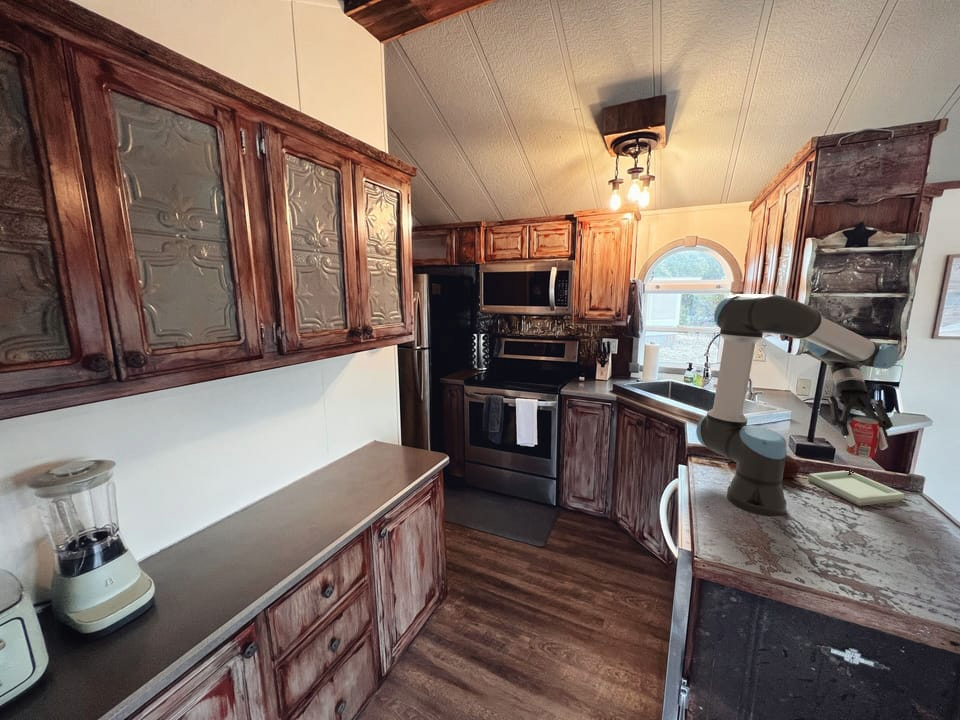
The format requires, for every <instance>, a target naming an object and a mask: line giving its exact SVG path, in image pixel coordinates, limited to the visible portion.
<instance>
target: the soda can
mask: <svg viewBox="0 0 960 720" xmlns="http://www.w3.org/2000/svg"><path fill="white" fill-rule="evenodd" d="M878 423H879V422H878V421H877V420H874V419H870V418H867V417H866V416H865V417H863V416H855V417H853V418H852V419H851V421H850V422H849V425H851V428H852V432H853V436H854V439H855V443H856V444H855V445H853V446H852V447H849V446H848V442H847V440H846V443H845V451H846V452H847V453H848V454H849V455H851V456H854V457H855V458H856V457H857V458H861V459H871V458H874V457H875V456H876V453H877V450H878V446H879V444H878V440H879V434H880V426H879V424H878Z"/></svg>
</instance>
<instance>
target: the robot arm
mask: <svg viewBox="0 0 960 720" xmlns="http://www.w3.org/2000/svg"><path fill="white" fill-rule="evenodd" d="M713 318H714V319H713V320H714V322H715V324H716V326H717V327H718V328H720V331H719V335H720V337H722V338H723V344H722V345H723V346H722V351H721V357H720V363H719V364H720V365H719V370H718V375H717V376H718V377H717V382H716V388H715V394H714V400H713V406H712V408H711V409H709V410H707V412H706V415H704V416H702V417H701V418H700V420H699V421H698V422H697V426H696V431H695V432H696V437H697V440H698V441H699V443H700V445H702V446H703V447H705V448H707V450H710V451H711V452H714V453H716V454H718V455H721V456H722V457H725V458H726V459H728V460H730V461H733V462H734V463H736V466H735V468H736V469H735V475H734V476H733V478H732V480H731V482H730V484H729V485H728V487H727V490H726V497H727V499H728V501H729V502H730V503H732V504H733V505H734V506H737V507H738V508H740V509H742V510H744V511H748V512H750V513H753V514H757V515H762V516H771V517H773V516H774V517H775V516H781V515H783V514H785V513H786V510H787V500H786V497H785V493H784V490H783V486H782V485H783V484H782V483H783V478H784V477H783V471H784V464H785V457H786V455H788V454H787V441H786V439H785V437H784V436H783V435H782V434H781V433H778V431H777V432H776V431H775V430H773V429H770V428H767V427H762V426H760V425H759V426H758V425H750V424H749V425H747V424H748V418H747V417H746V415H744V410H745V404H746V399H747V392H748V387H749V381H750V375H751V370H752V364H753V359H754V354H755V353H754V352H755V347H756V343H757V342H758V341H760V340H761V339H763V334H773V335H774V334H775V335H781V336H787V337H790V338H792V339H796V340H802V339H803V340H805V341H807V343H806V348H807V350H808V351H809V352H810V353H811V354H812V355H813V356H814V357H817V358H818V359H820V360H821V361H822V362H824V363H825V364H826V365H827V366H828V367H829V370H830V372H831V375H832V379H833V383H834V385H835V390H836V395H837V396H834V395H831V396H830V397H829V398H827V402H828V404H829V406H830V416H831V420H830V421H831V425H833V426H837V427H838V429H840V431H841V435H842V436H844V437H845V439H846V441H847V442H848V446H849V447H852V446H853V445H855V444H856V443H855V439H854V436H853V432H852V428H851V425H850V424H848V422H849V417H850V416H851V415H850V414H851V411H852V410H859V411H860V412H861V413H862V414H864V415H865V417H866V418H870V419H874V420H877V421H878V422H879V423H878V424H879V426H880V434H879V440H878V446H879V447H878V448H879V450H880V451H884V450H886V449H887V448H889V445H888V442H887V439H889V434H888V432H887V431H888V430H890V429H891V428H892V427H893V426H894V424H893V422H892V420H891V419H890V417H889V415H888V413H887V410H886V409H885V407H884V400H883V399H880V398H879V399H873V398H872V397H870V395H869V392H868V388H867V385H866V383H865V378H864V375H863V372H862V369H861V367H860V366H864V367H871V368H874V369H882V370H883V369H884V370H887V369H892V368H893V367H894V366H895V365H897V362H898V361H899V358H900V352H899V349H898V348H897V346H895V345H891V344H886V343H876V342H875V341H873V340H870V339H868V338H866V337H864V336H863V335H860V334H857V333H856V332H854V331H851V330H849V329H847V328H846V327H844V326H842V325H840V324H838V323H835V322H833V321H832V320H829V319H828V318H825V317H823V315H822V313H821V312H820V311H819V310H817V309H815V308H813V307H811V306H809V305H807V304H806V303H803V302H801V301H798V300H795V299H793V298H790V297H788V296H787V297H786V296H783V295H778V294H750V293H749V294H745V293H742V294H741V293H740V294H732V295H729V296H727V297H725V298H723V300H721V301H720V302H719V303H718V304H717V306H716V308H715V311H714V316H713ZM839 403H841V404H842V405H843V409H842V413H841V417H840V413H839V412H840V411H839V409H840V408H839ZM871 405H872V406H871ZM872 407H873V408H874V410H873V409H872Z"/></svg>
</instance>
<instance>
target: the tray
mask: <svg viewBox="0 0 960 720" xmlns="http://www.w3.org/2000/svg"><path fill="white" fill-rule="evenodd" d="M852 472H853V471H852ZM852 472H850V473H851V475H848V474H849V471H845V470H836V471H835V470H834V471H826V472H816V473H815V472H814V473H808V478H807V481H808V482H810V483H812V484H814V485H816V486H818V487H820V488H822V489H825V490H826V491H828V492H830V493H832V494H835V495H837V496H838V497H841V498H843V499H844V500H846V501H848V502H850V503H852V504H855V505H856V506H858V507H861V506H871V505H880V504H888V503H890V504H891V503H898V502H904V497H905V493H903V492H901V491H900V490H899V491H898V490H896V489H894V488H892V487H890V486H887V485H886V484H882V483H880V482H878V481H875V480H873V479H871V478H868V477H865V476H863V475H861V474H858V472H857V473H856V472H854V473H852Z"/></svg>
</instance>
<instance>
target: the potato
mask: <svg viewBox="0 0 960 720" xmlns="http://www.w3.org/2000/svg"><path fill="white" fill-rule="evenodd" d="M800 469H801V467H800V464H799V462H798V461H797V460H796V459H795V458H793V456H790V455H788V454H786V457H785V464H784V471H783V478H791V477H794V476H796V475H797V474H798V472H799V471H800Z"/></svg>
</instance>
